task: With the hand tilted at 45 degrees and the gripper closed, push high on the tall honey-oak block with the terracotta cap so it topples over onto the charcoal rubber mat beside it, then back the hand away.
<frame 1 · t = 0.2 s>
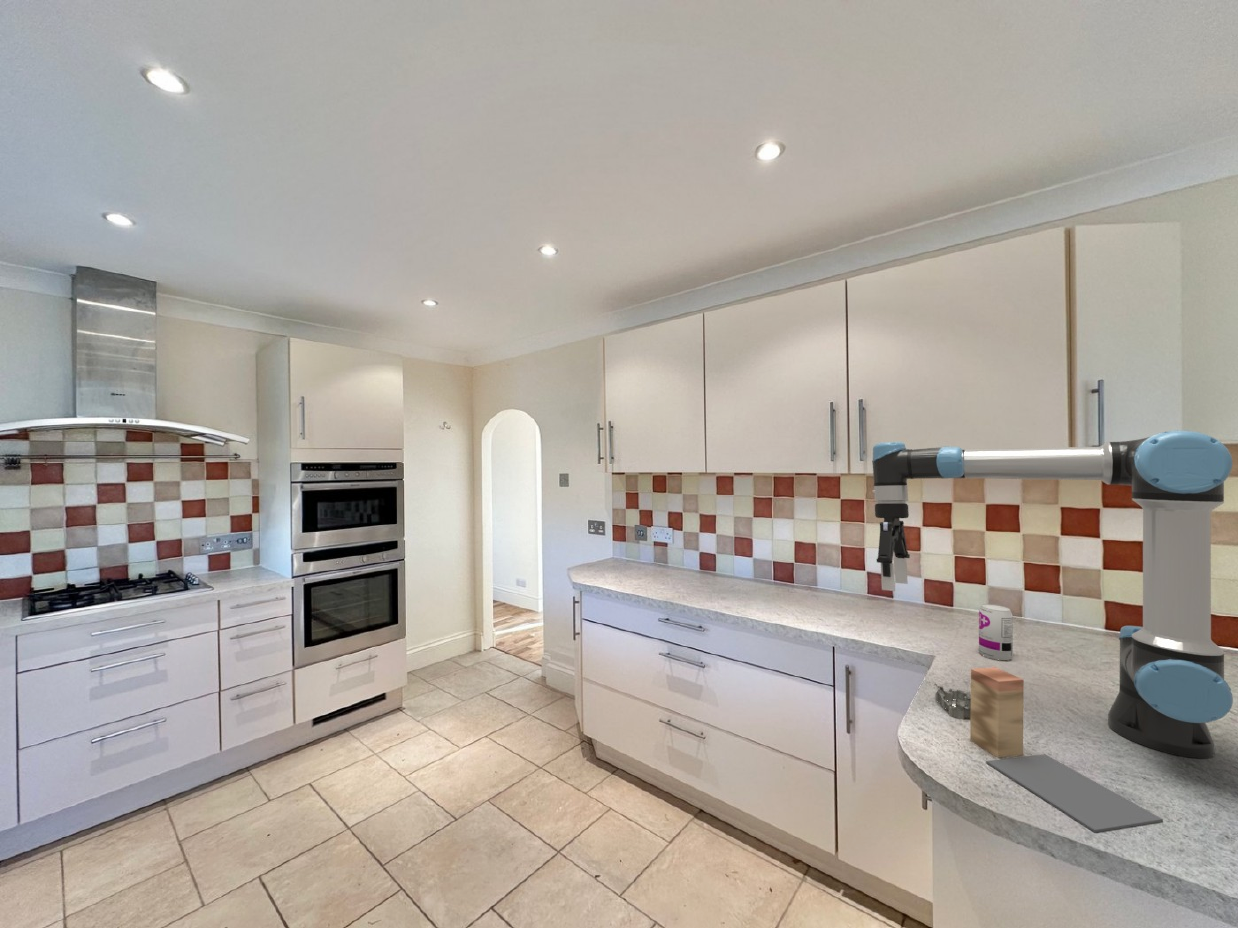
hand: (895, 586, 122), 27 cm above the worktop, tool pointing down, fingers open, 13 cm apart
mat: (1066, 789, 85), on the worktop
oak block: (995, 747, 98), on the worktop
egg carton: (958, 711, 114), on the worktop
supplement can: (995, 656, 148), on the worktop
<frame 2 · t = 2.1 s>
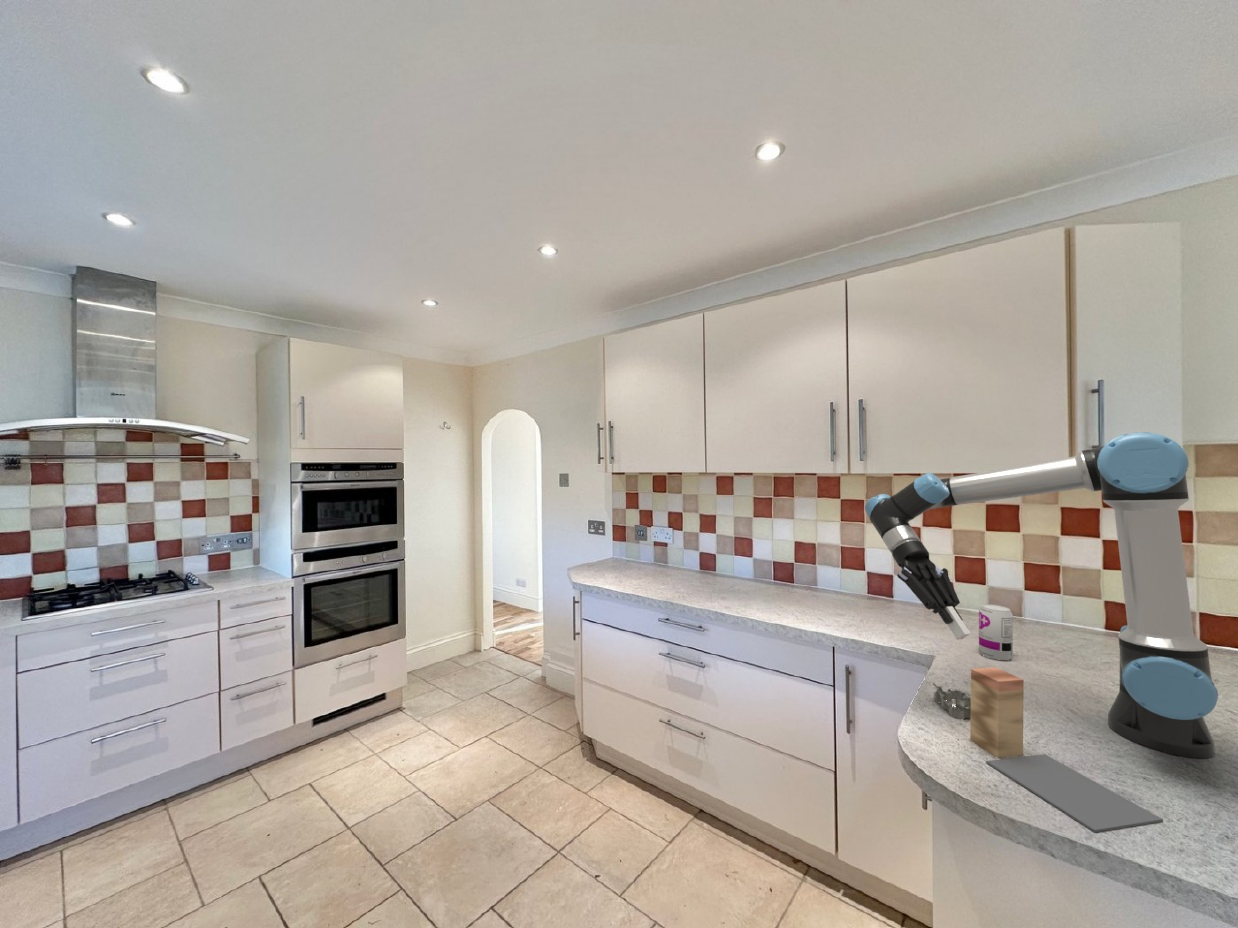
hand: (963, 636, 106), 20 cm above the worktop, tool tilted 45°, fingers closed
nothing on the worktop moved.
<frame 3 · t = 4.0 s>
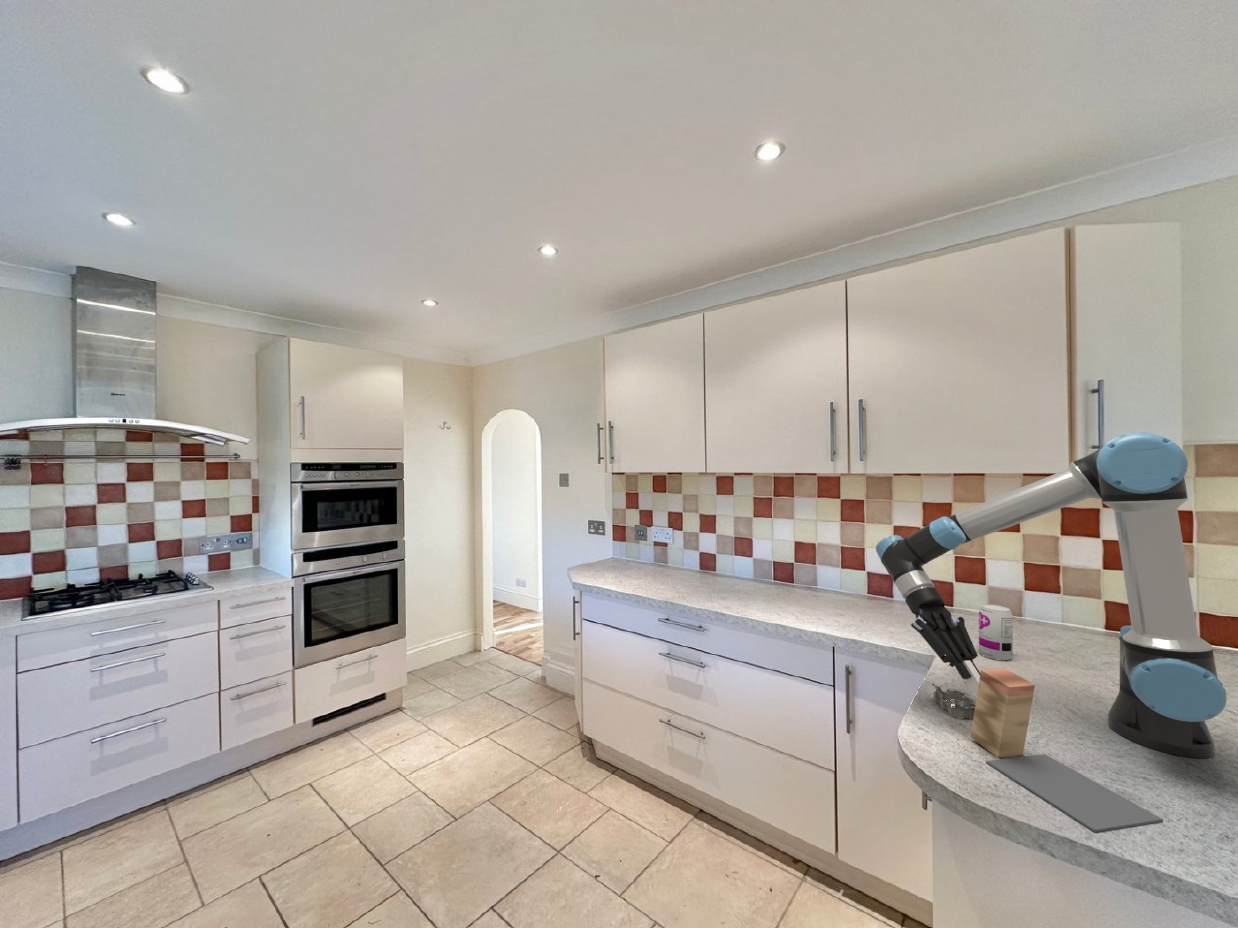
hand: (982, 693, 101), 10 cm above the worktop, tool tilted 45°, fingers closed
oak block: (996, 745, 98), on the worktop, tilted 8°, touching gripper
everything else where it was.
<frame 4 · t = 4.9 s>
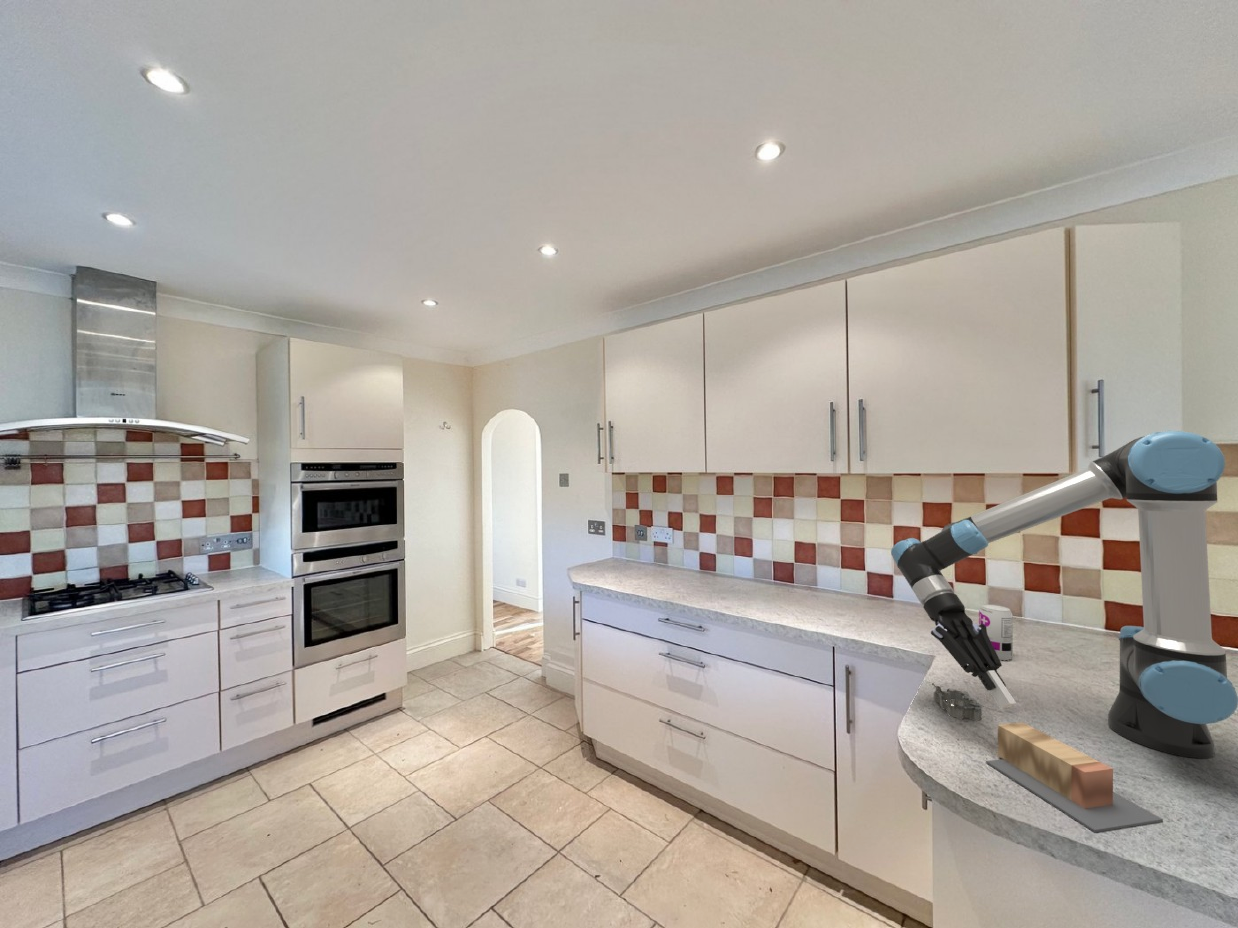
hand: (1008, 705, 96), 10 cm above the worktop, tool tilted 45°, fingers closed
oak block: (1010, 738, 95), point 3 cm above the worktop, tilted 90°, touching mat
everything else where it was.
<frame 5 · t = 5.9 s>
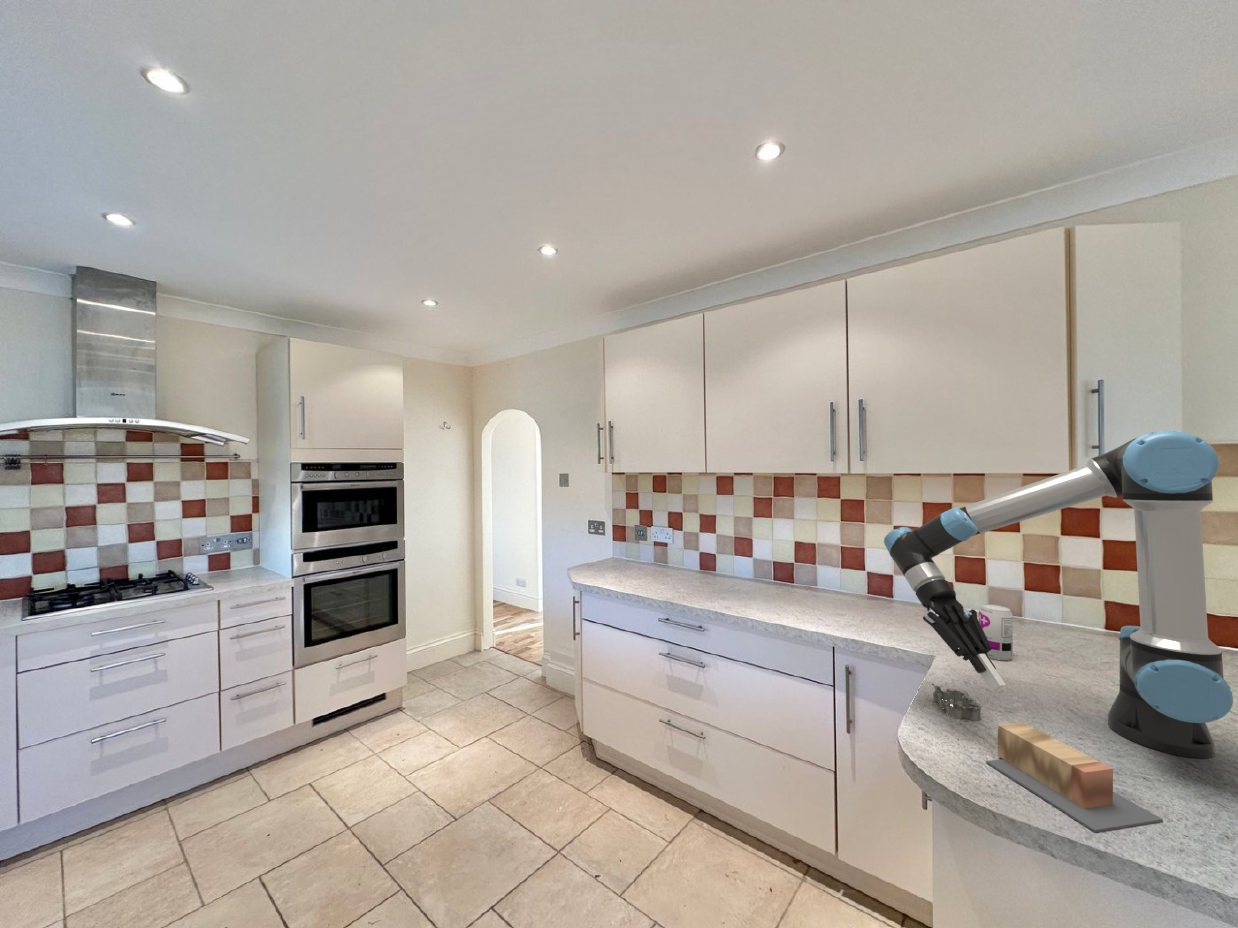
hand: (998, 687, 98), 12 cm above the worktop, tool tilted 45°, fingers closed
nothing on the worktop moved.
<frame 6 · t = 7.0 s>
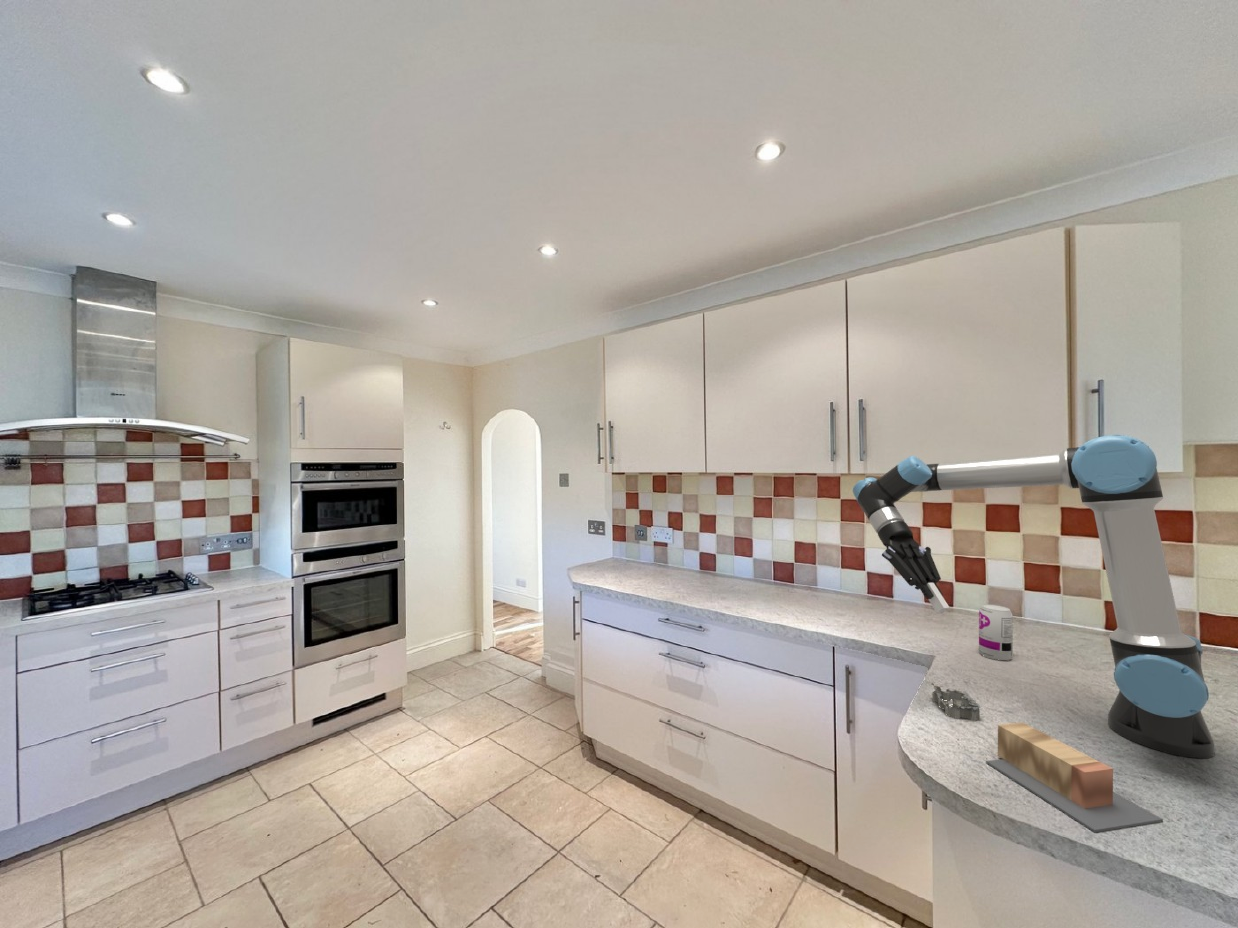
hand: (943, 610, 112), 24 cm above the worktop, tool tilted 45°, fingers closed
nothing on the worktop moved.
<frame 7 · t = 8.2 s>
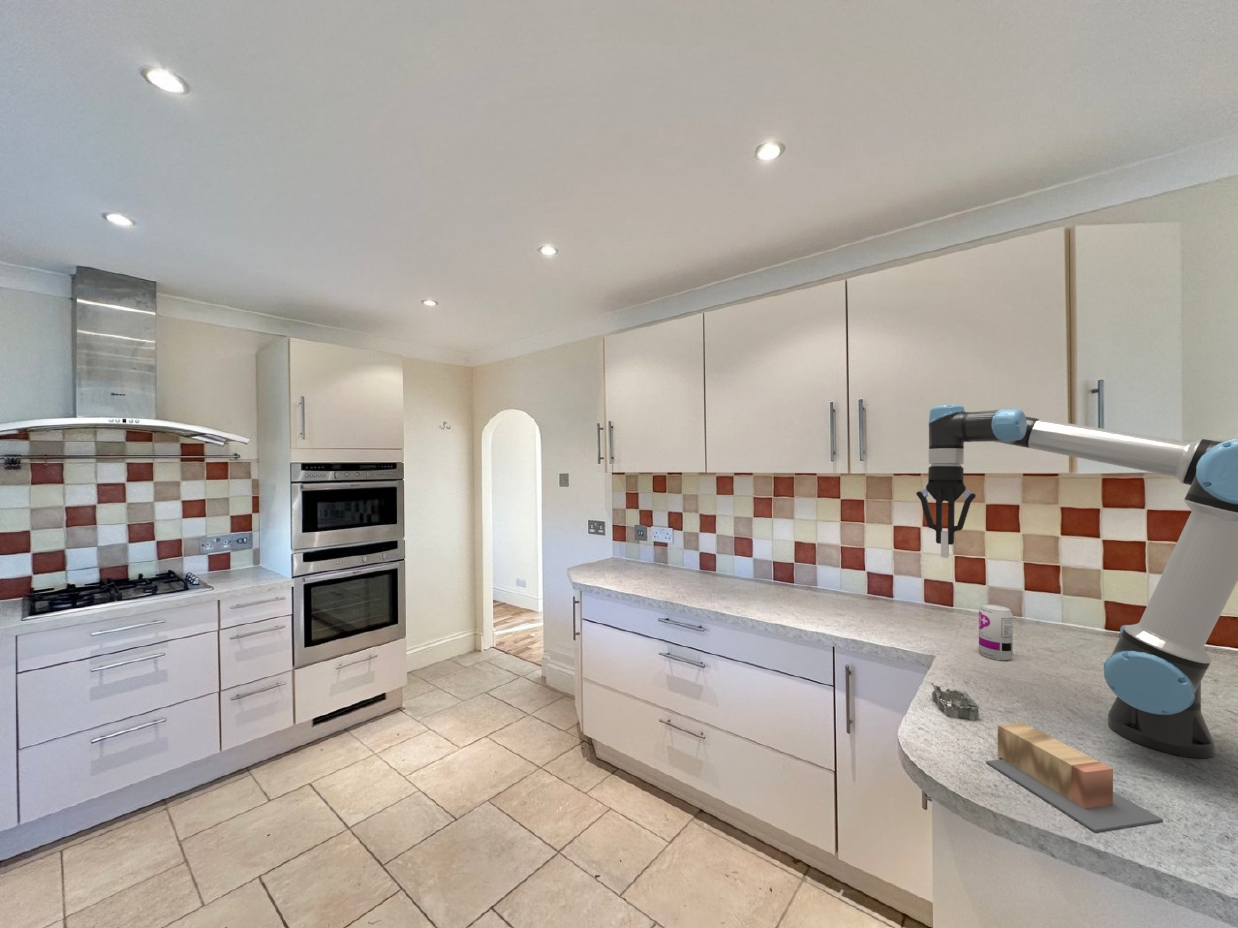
hand: (944, 556, 124), 34 cm above the worktop, tool pointing down, fingers closed
nothing on the worktop moved.
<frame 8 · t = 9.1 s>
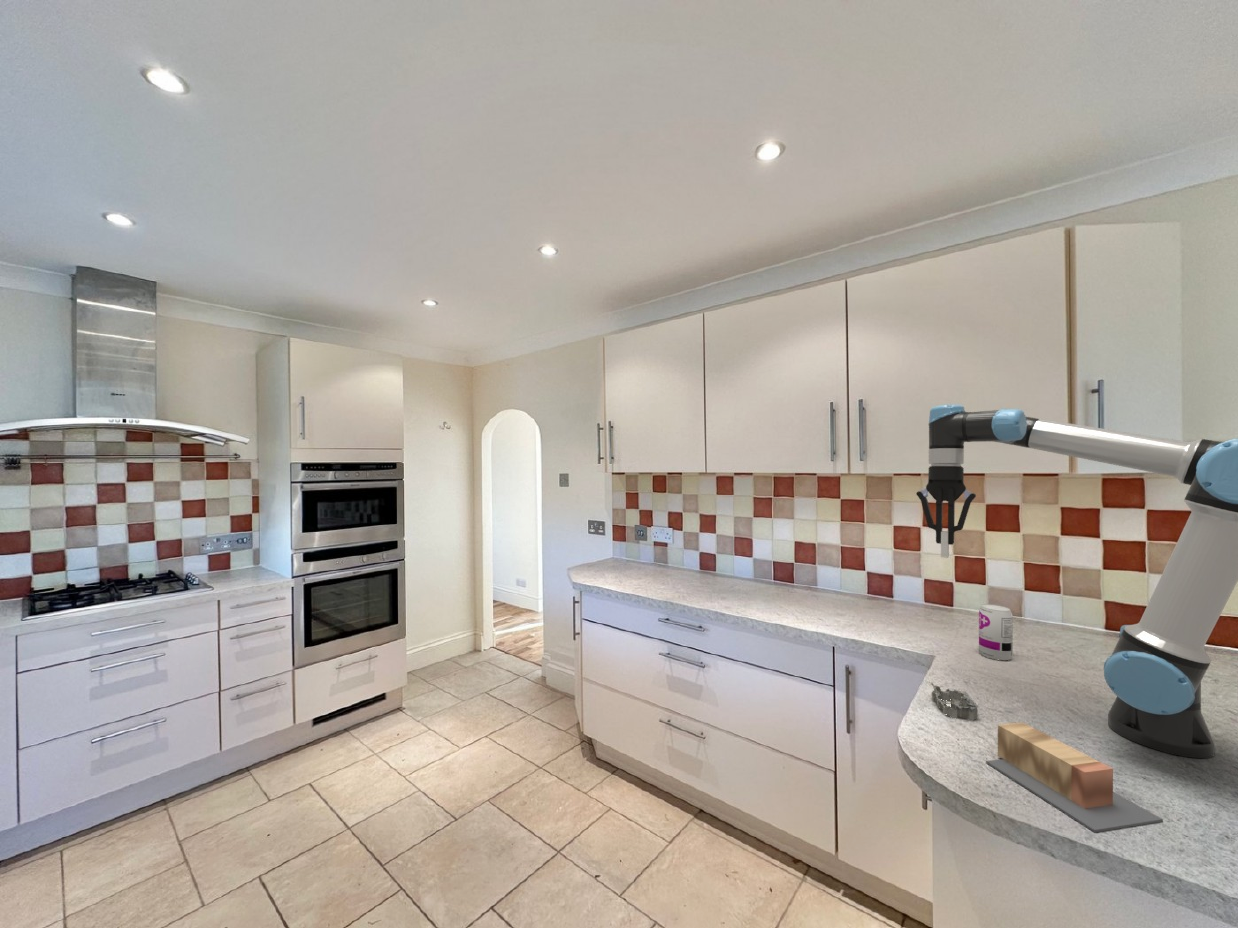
hand: (944, 556, 124), 34 cm above the worktop, tool pointing down, fingers closed
at the end: oak block tilted 90°; oak block touching mat; oak block 10.1 cm from the mat (horizontally) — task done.
